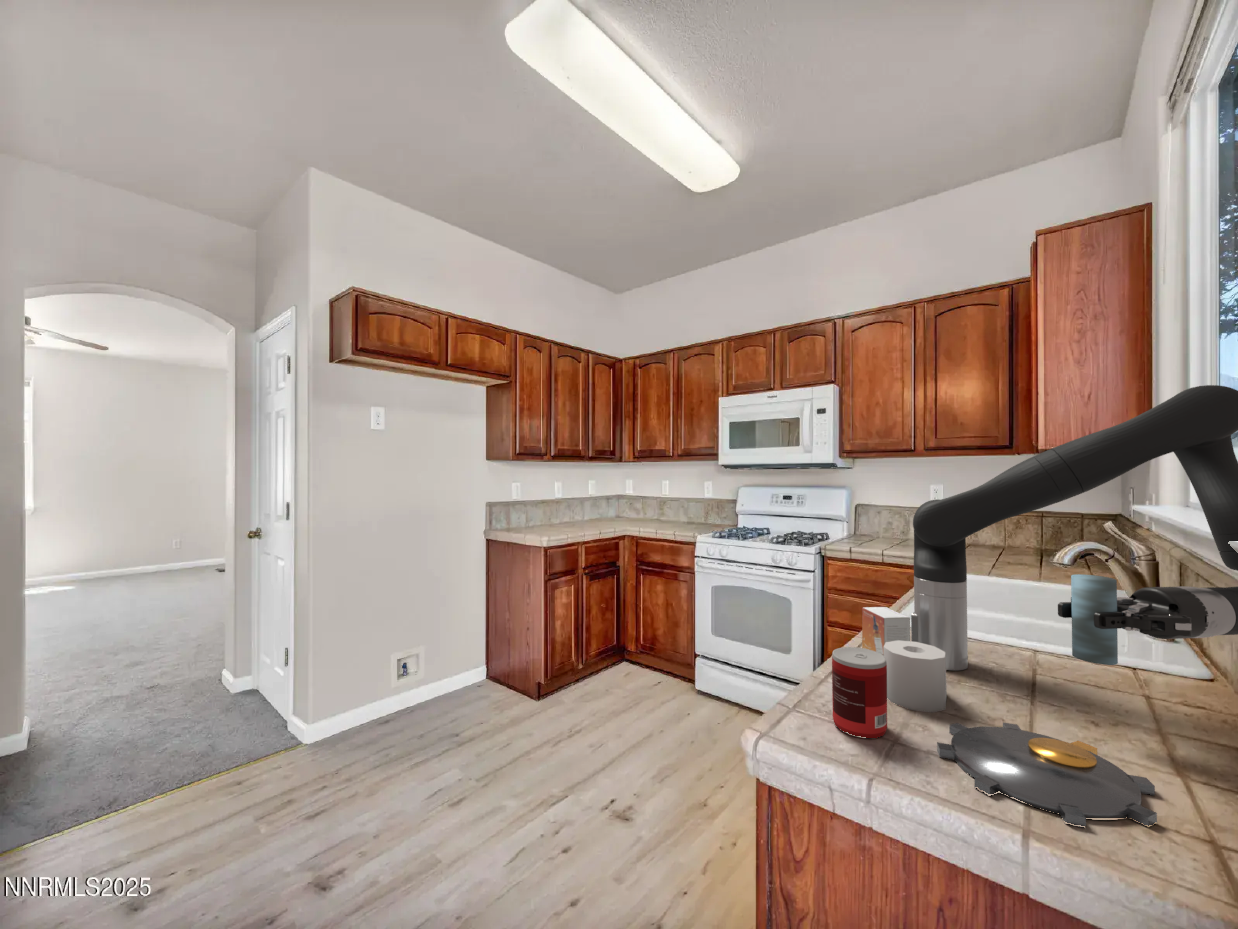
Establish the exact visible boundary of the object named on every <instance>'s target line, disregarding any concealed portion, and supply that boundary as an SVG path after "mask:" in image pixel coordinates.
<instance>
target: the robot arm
mask: <svg viewBox="0 0 1238 929" xmlns="http://www.w3.org/2000/svg"><path fill="white" fill-rule="evenodd" d="M1236 432H1238V389H1235V388H1232V387H1230V386H1225V385H1217V384H1215V385H1214V384H1213V385H1212V384H1206V385H1199V386H1193V387H1190V388H1187V389H1185V390H1184V389H1183V391H1180V392H1178V393H1177V394H1175V395H1174V396H1172V397H1170V398H1168V399H1167V400H1165V401H1163V402H1161V403H1160V404H1158V405H1156V406H1154V407H1152V408H1150V409H1148V410H1147V411H1144V412H1142V413H1141V414H1138V415H1136V416H1135V417H1133V418H1132V417H1131V419H1128V420H1126V421H1123V422H1121V423H1119V424H1115V425H1113V426H1111V427H1107V428H1105V429H1102V430H1098V431H1096V432H1093V433H1088V434H1087V435H1084V436H1081V437H1078V438H1075V439H1073V440H1070V441H1067V442H1065V443H1063V444H1060V445H1057V446H1055V447H1052V448H1049V449H1048V450H1044V451H1043V452H1041V453H1038V454H1036V455H1033V456H1032V457H1029V458H1027V459H1025V460H1022V461H1020V462H1019V463H1017V464H1015V465H1014V466H1012V467H1010V468H1008V469H1006V470H1004V471H1002V472H1001V473H999V474H998V475H996V476H995V477H993V478H992V479H990V480H988V481H986V482H984V483H983V484H980V485H979V486H977V487H974V488H971V489H969V490H967V491H964V492H963V491H962V492H960V493H958V494H955V495H954V494H953V495H952V496H949V497H945V498H942V499H932V500H928V501H926V502H924V503H923V504H920V506H918V508H916V511H915V513H914V514H913V519H912V527H913V600H914V602H913V603H914V604H913V605H914V607H913V613H911V615H910V641H912V642H919V643H923V644H927V645H931V646H935V647H937V648H939V649H940V650H942V651H944V652H945V656H946V671H963V670H966V669H968V667H969V665H968V664H969V663H968V662H969V655H968V651H969V650H968V646H969V645H968V643H969V641H968V591H967V590H968V589H967V588H968V586H967V585H968V569H967V553H966V552H967V551H966V550H967V548H966V545H967V544H966V542H967V539H966V538H968V537H969V536H972V535H974V534H975V533H978V532H979V531H982V530H984V529H985V528H988V527H990V526H992V525H994V524H996V523H999V522H1001V521H1005V520H1007V519H1011V518H1013V517H1017V516H1021V515H1024V514H1028V513H1031V512H1034V511H1037V510H1040V509H1043V508H1046V507H1049V506H1052V505H1054V504H1057V503H1060V502H1063V501H1065V500H1068V499H1071V498H1073V497H1076V496H1079V495H1081V494H1084V493H1086V492H1088V491H1090V490H1093V489H1095V488H1098V487H1099V486H1102V485H1104V484H1106V483H1109V482H1110V481H1112V480H1114V479H1116V478H1118V477H1121V476H1122V475H1124V474H1126V473H1127V472H1130V471H1131V470H1133V469H1136V468H1137V467H1139V466H1141V465H1143V464H1145V463H1147V462H1149V461H1152V460H1154V459H1157V458H1159V457H1163V456H1165V455H1167V454H1171V453H1174V454H1175V456H1176V458H1177V460H1178V461H1179V463H1180V464H1181V467H1182V468H1183V470H1184V472H1185V474H1186V475H1187V477H1188V479H1189V482H1190V484H1191V486H1192V487H1193V489H1194V492H1195V494H1196V497H1197V499H1198V501H1199V503H1200V506H1201V509H1202V511H1203V514H1204V516H1205V519H1206V521H1207V526H1208V527H1209V530H1210V533H1211V534H1212V535H1211V536H1212V538H1213V540H1214V542H1215V545H1216V548H1217V550H1218V552H1219V556H1220V558H1221V560H1222V563H1223V564H1224V566H1226V568H1228V569H1230V570H1233V571H1237V572H1238V553H1237V552H1236V551H1235V550H1234V549H1233V548H1232V547H1231V546H1230V544H1228V542H1229V541H1238V459H1237V456H1236V453H1235V450H1234V446H1233V441H1232V435H1233V434H1235V433H1236ZM1057 615H1058V617H1061V618H1063V619H1064V618H1065V619H1072V601H1071V600H1070V601H1065V602H1063V601H1061V602H1058V603H1057ZM1094 626H1095V627H1096V628H1100V629H1117V630H1118V629H1122V630H1125V631H1128V632H1130V631H1131V632H1132V631H1135V632H1139V633H1140V634H1143V635H1148V636H1150V637H1153V638H1155V639H1159V640H1174V639H1175V640H1177V639H1201V638H1202V639H1204V638H1211V637H1215V636H1237V635H1238V586H1228V587H1227V586H1226V587H1225V586H1223V587H1221V586H1220V587H1219V586H1218V587H1217V586H1216V587H1212V586H1211V587H1196V586H1181V585H1180V586H1153V587H1152V586H1150V587H1149V586H1148V587H1146V586H1145V587H1142V588H1139V589H1137V590H1136V591H1134V592H1133V593H1132V594H1131V595H1130V596H1129V597H1125V596H1124V597H1123V596H1117V612H1096V613H1095V614H1094Z"/></svg>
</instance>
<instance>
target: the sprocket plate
mask: <svg viewBox="0 0 1238 929" xmlns="http://www.w3.org/2000/svg"><path fill="white" fill-rule="evenodd" d="M948 726H949V730H948V731H949V734H950V733H951V734H950V735H952V734H953V736H952V737H951V744H950V743H949V744H948V743H944V742H943V743H942V742H936V744H937V745H936V752H937V754H938V757H939V758H940V757H941V759H945V758H948V759H947V760H951V759H954V760H953V761H954V762H955V761H956V762H957V763H958V764H957V763H956V762H955V763H956V764H957V765H958V766H960V767H961V768H960V767H959V768H960V769H961V770H962V771H963V772H965V773H966V774H967V773H968V774H970V775H971V776H972V777H974V778H975V779H974V778H973V779H974V788H975V787H978V788H979V789H980V790H983V791H985V792H986V793H988V794H994V793H996V792H998V791H1000V792H1001V793H1003V794H1006V795H1008V796H1009V797H1014V798H1016V799H1018V800H1020V801H1023V802H1025V803H1027V804H1030V805H1032V806H1034V807H1037V808H1041V809H1044V810H1047V811H1051V812H1054V813H1059V814H1060V815H1061V817H1062V818H1063V820H1064V821H1065V822H1067V823H1071V824H1074V825H1081V826H1086V827H1087V821H1086V818H1126V817H1127V819H1128V818H1132V819H1134V820H1136V821H1138V822H1140V823H1143V824H1144V825H1148V826H1149V825H1153V824H1154V823H1155V822H1157V823H1158V813H1157V812H1156V811H1153V810H1151V809H1149V808H1148V807H1144V806H1143V805H1142V795H1147V794H1150V795H1149V796H1154V795H1155V796H1156V794H1155V793H1156V787H1155V785H1154V784H1153V783H1152V781H1150V779H1148V778H1147V777H1144V776H1137V775H1133V774H1128V773H1127V772H1126V771H1125V770H1123V769H1122V768H1120V767H1118V766H1117V765H1116V764H1114V763H1112V762H1111V761H1109V760H1108V759H1106V758H1104V757H1102V756H1100V755H1098V747H1095V746H1092V745H1090V744H1087V743H1085V742H1082V741H1080V740H1076V741H1073V742H1067V741H1065V740H1061V739H1058V738H1055V737H1051V736H1048V735H1045V734H1040V733H1037V732H1032V731H1028V730H1023V729H1021V728H1020V726H1019V725H1018V724H1016V723H1009V722H1002V726H988V725H987V726H974V727H972V726H971V727H967V726H966V725H963V724H961V723H959V722H955V723H952V724H948ZM968 774H967V775H968ZM970 775H969V776H970ZM971 776H970V777H971ZM972 777H971V778H972ZM1142 793H1143V794H1142ZM1155 796H1154V797H1155ZM1034 807H1033V808H1034ZM1037 808H1036V809H1037ZM1047 811H1046V812H1047ZM1051 812H1050V813H1051ZM1054 813H1053V814H1054ZM1061 817H1060V818H1061ZM1063 820H1062V821H1063Z"/></svg>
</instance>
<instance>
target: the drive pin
mask: <svg viewBox="0 0 1238 929" xmlns="http://www.w3.org/2000/svg"><path fill="white" fill-rule="evenodd" d="M1070 579H1071V580H1070V582H1071V583H1070V584H1071V585H1070V588H1071V589H1070V590H1071V596H1070V602H1071V601H1072V618H1071V655H1072V657H1074V658H1076V659H1078V660H1080V661H1083V662H1087V663H1092V664H1097V665H1105V666H1113V665H1115V666H1116V665H1117V664H1118V663H1119V659H1118V658H1119V657H1118V656H1119V655H1118V654H1119V653H1118V652H1119V650H1118V647H1119V646H1118V643H1119V642H1118V628H1117V629H1100V628H1096V627H1095V626H1094V614H1095V613H1096V612H1117V597H1118V584H1117V582H1118V581H1117V579H1116V578H1112V577H1109V576H1102V575H1093V574H1081V573H1080V574H1079V573H1078V574H1071V576H1070Z"/></svg>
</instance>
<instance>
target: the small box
mask: <svg viewBox="0 0 1238 929" xmlns="http://www.w3.org/2000/svg"><path fill="white" fill-rule="evenodd" d="M861 611H862V616H861V617H862V618H861V619H862V622H861V623H862V625H861V626H862V627H861V628H862V629H861V632H862V633H861V635H862V636H861V644H862V645H861V648H864V649H869V650H872V651H875V652H878V653H880V654H882V655H883V656H884V645H885V643H886V642H891V641H898V640H900V641H911V616H908V615H904V614H902V613H900V612H897V611H896V610H893V609H891V608H889V607H887V606H871V607H869V606H866V607H862V610H861Z"/></svg>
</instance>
